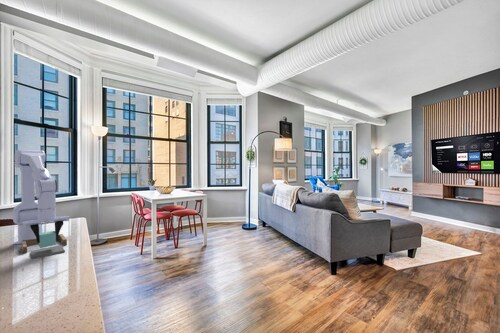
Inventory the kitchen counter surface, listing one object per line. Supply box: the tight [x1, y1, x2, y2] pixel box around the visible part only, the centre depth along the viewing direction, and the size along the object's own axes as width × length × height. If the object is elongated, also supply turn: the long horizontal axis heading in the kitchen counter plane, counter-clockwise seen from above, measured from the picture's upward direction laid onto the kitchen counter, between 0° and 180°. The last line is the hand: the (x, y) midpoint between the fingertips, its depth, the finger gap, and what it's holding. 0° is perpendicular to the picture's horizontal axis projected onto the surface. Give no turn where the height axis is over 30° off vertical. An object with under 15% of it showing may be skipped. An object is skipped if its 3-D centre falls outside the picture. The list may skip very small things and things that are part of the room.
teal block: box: [38, 230, 57, 249], centre depth 99 cm, size 5×5×5 cm
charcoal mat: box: [30, 244, 66, 260], centre depth 99 cm, size 10×10×1 cm
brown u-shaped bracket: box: [21, 233, 68, 254], centre depth 108 cm, size 13×14×2 cm
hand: (47, 241), depth 99 cm, fingers closed on teal block, 5 cm apart
